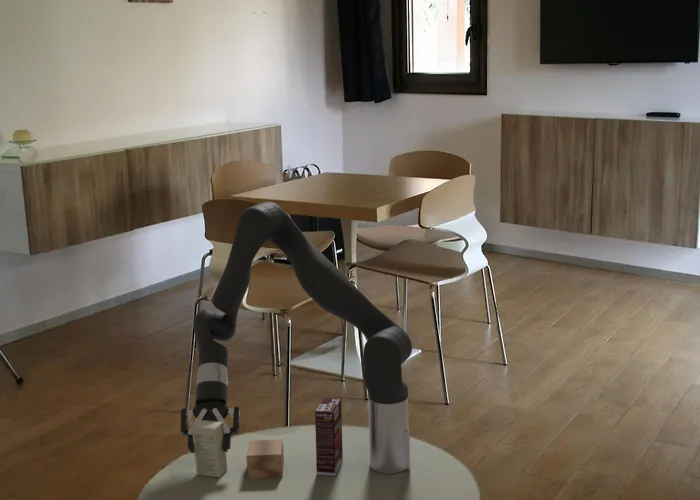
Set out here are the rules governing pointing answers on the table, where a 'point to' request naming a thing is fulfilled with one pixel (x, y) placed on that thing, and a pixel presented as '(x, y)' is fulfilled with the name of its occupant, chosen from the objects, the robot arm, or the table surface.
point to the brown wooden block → (265, 459)
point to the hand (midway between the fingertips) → (208, 451)
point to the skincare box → (209, 448)
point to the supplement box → (328, 436)
